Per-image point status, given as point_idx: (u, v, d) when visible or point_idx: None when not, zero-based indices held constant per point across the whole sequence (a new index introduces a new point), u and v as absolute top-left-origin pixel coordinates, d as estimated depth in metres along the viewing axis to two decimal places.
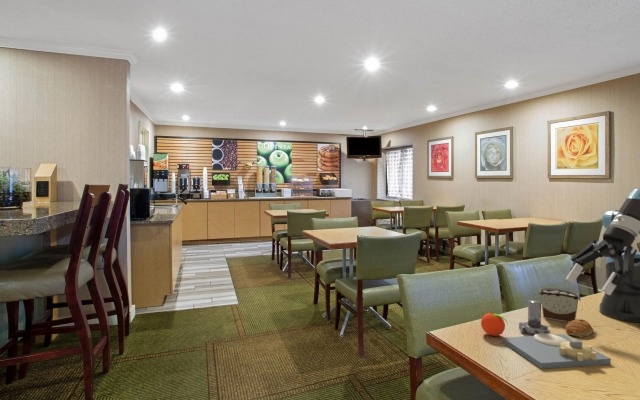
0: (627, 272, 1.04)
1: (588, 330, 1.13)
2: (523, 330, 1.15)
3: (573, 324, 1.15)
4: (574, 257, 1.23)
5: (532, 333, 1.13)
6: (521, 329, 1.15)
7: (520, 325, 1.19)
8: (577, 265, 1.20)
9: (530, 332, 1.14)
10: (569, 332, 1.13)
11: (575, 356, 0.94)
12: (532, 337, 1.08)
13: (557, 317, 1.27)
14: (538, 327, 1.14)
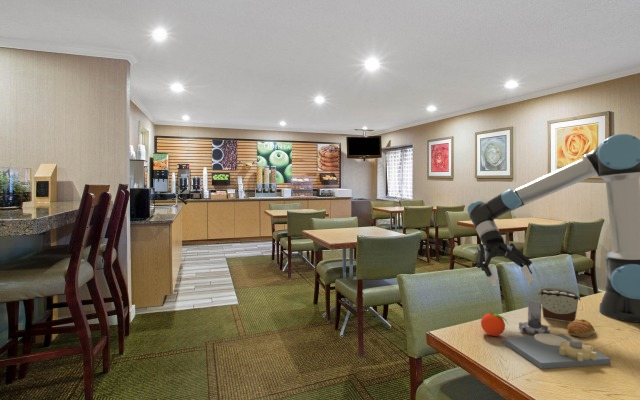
0: (477, 266, 1.30)
1: (590, 330, 1.13)
2: (523, 330, 1.15)
3: (575, 324, 1.15)
4: None
5: (532, 333, 1.13)
6: (521, 329, 1.15)
7: (520, 325, 1.19)
8: (522, 269, 1.30)
9: (530, 332, 1.14)
10: (571, 332, 1.13)
11: (575, 356, 0.94)
12: (532, 337, 1.08)
13: (557, 317, 1.27)
14: (538, 327, 1.14)
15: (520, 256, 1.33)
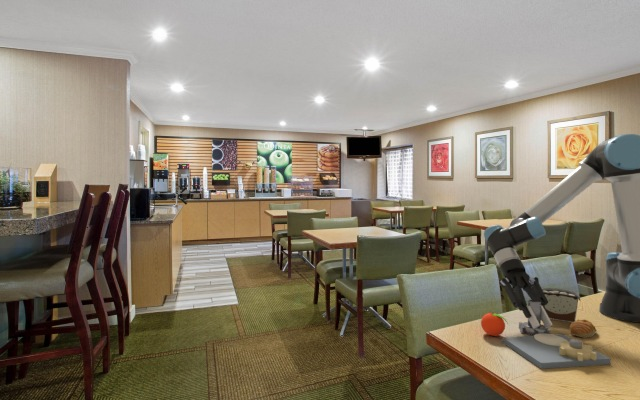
0: (515, 306, 1.17)
1: (592, 330, 1.12)
2: (523, 330, 1.15)
3: (577, 325, 1.14)
4: None
5: (532, 333, 1.13)
6: (521, 329, 1.15)
7: (520, 325, 1.19)
8: None
9: (530, 332, 1.14)
10: (574, 333, 1.12)
11: (575, 356, 0.94)
12: (532, 337, 1.08)
13: (557, 317, 1.27)
14: (538, 327, 1.14)
15: (538, 292, 1.20)
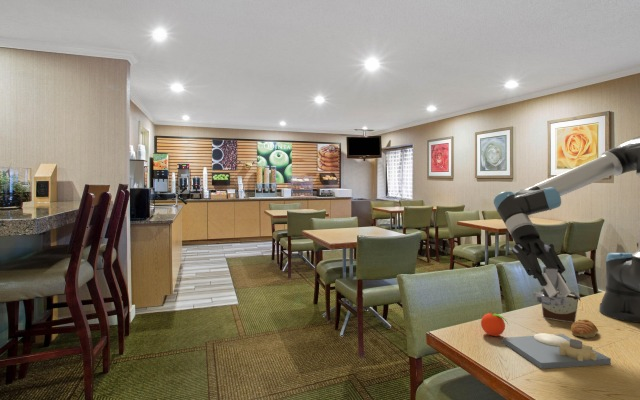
0: (529, 274, 1.07)
1: (594, 331, 1.12)
2: (538, 299, 1.05)
3: (579, 325, 1.14)
4: None
5: (548, 302, 1.04)
6: (536, 298, 1.06)
7: (534, 295, 1.09)
8: None
9: (546, 301, 1.04)
10: (576, 333, 1.12)
11: (575, 356, 0.94)
12: (532, 337, 1.08)
13: (557, 317, 1.27)
14: (554, 296, 1.04)
15: (554, 259, 1.10)
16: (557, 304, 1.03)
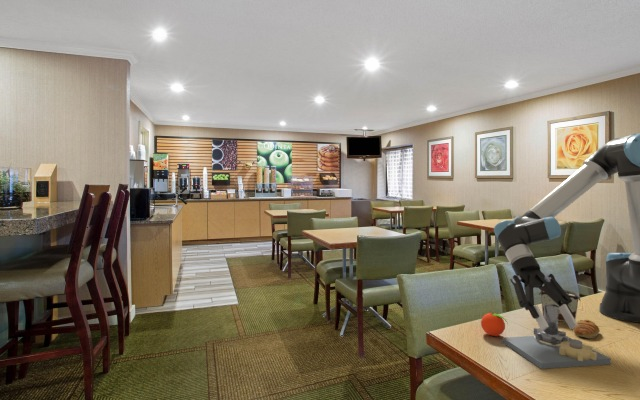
0: (521, 306, 1.08)
1: (596, 331, 1.12)
2: (539, 337, 1.05)
3: (581, 325, 1.14)
4: None
5: (549, 340, 1.04)
6: (536, 336, 1.06)
7: (535, 331, 1.09)
8: (560, 309, 1.08)
9: (547, 339, 1.04)
10: (579, 334, 1.12)
11: (575, 356, 0.94)
12: (532, 337, 1.08)
13: None
14: (555, 333, 1.04)
15: (559, 291, 1.11)
16: (558, 342, 1.03)
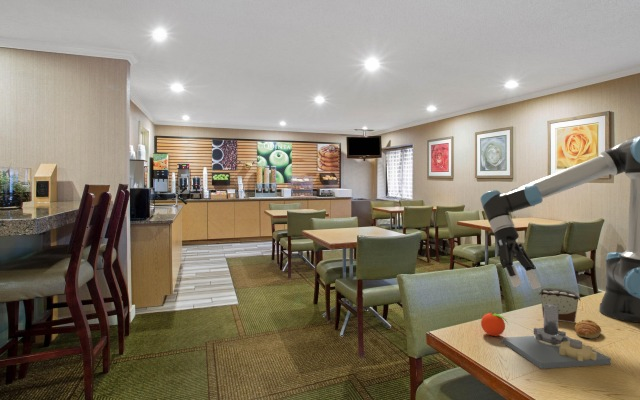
0: (502, 263, 1.19)
1: (598, 331, 1.12)
2: (539, 337, 1.05)
3: (583, 325, 1.14)
4: None
5: (549, 340, 1.04)
6: (536, 336, 1.06)
7: (535, 331, 1.09)
8: (526, 272, 1.28)
9: (547, 339, 1.04)
10: (581, 334, 1.11)
11: (575, 356, 0.94)
12: (532, 337, 1.08)
13: None
14: (555, 333, 1.04)
15: None
16: (558, 342, 1.03)
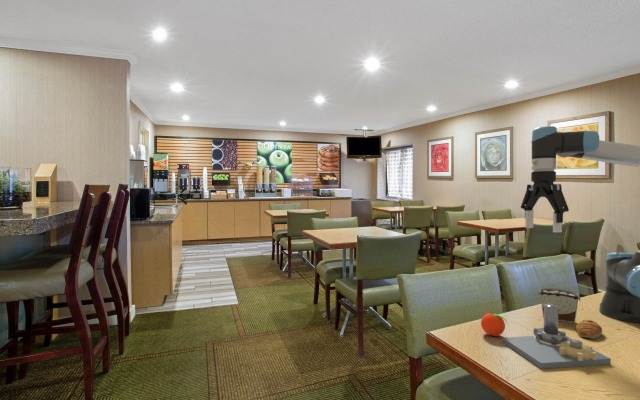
0: (562, 210, 1.18)
1: (600, 331, 1.12)
2: (539, 337, 1.05)
3: (585, 326, 1.13)
4: (522, 205, 1.37)
5: (549, 340, 1.04)
6: (536, 336, 1.06)
7: (535, 331, 1.09)
8: (527, 212, 1.34)
9: (547, 339, 1.04)
10: (583, 334, 1.11)
11: (575, 356, 0.94)
12: (532, 337, 1.08)
13: None
14: (555, 333, 1.04)
15: None
16: (558, 342, 1.03)
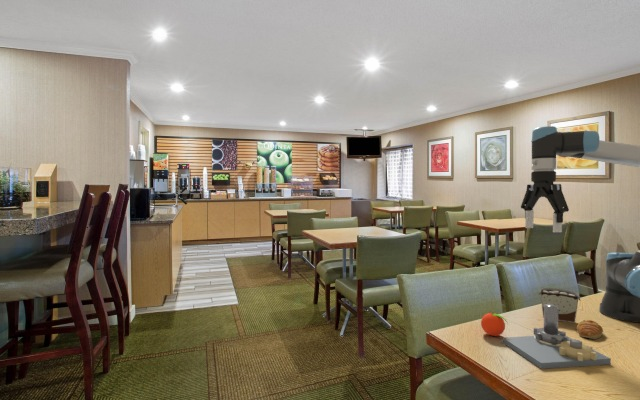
0: (562, 210, 1.18)
1: (601, 331, 1.12)
2: (539, 337, 1.05)
3: (585, 326, 1.13)
4: (522, 205, 1.37)
5: (549, 340, 1.04)
6: (536, 336, 1.06)
7: (535, 331, 1.09)
8: (527, 212, 1.34)
9: (547, 339, 1.04)
10: (584, 335, 1.11)
11: (575, 356, 0.94)
12: (532, 337, 1.08)
13: None
14: (555, 333, 1.04)
15: None
16: (558, 342, 1.03)
